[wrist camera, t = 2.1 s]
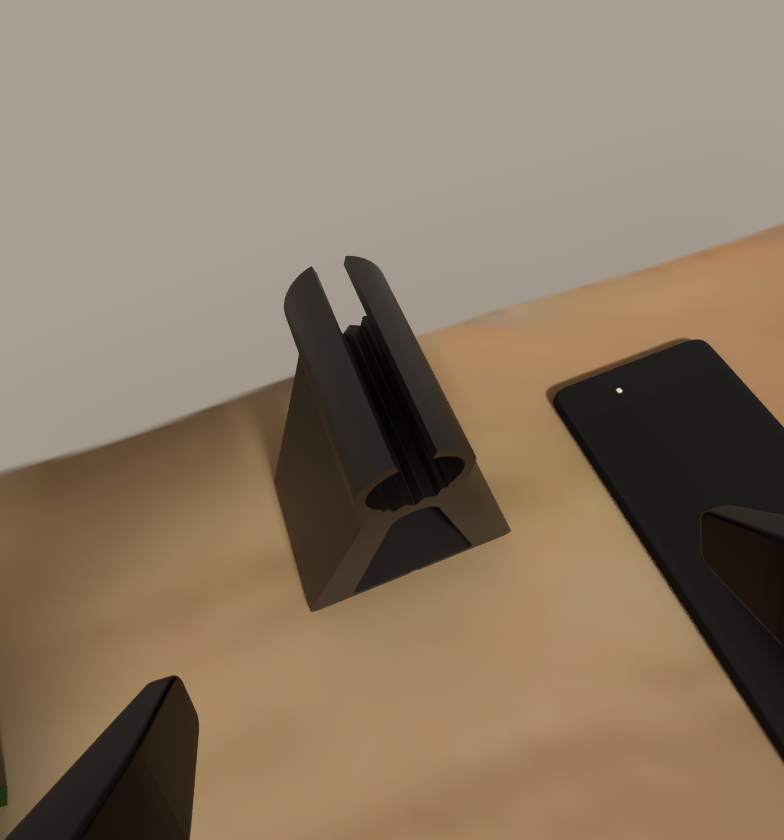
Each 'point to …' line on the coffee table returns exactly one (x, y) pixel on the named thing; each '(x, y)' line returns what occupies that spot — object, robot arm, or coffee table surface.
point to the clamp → (3, 796)
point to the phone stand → (372, 449)
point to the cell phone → (690, 488)
